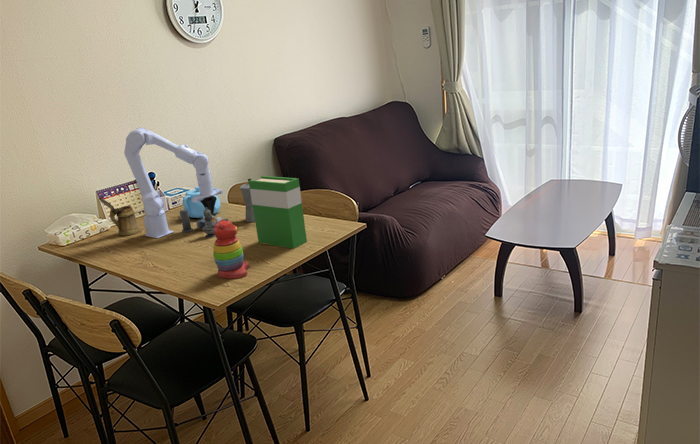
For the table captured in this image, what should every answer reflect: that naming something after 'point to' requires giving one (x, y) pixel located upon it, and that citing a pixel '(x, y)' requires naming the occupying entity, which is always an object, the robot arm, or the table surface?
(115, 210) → the wooden mug
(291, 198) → the hardback book
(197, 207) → the decorative pot
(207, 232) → the grey tall lumpy piece
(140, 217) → the table surface
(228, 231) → the stacking bear
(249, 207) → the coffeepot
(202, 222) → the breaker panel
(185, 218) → the post
